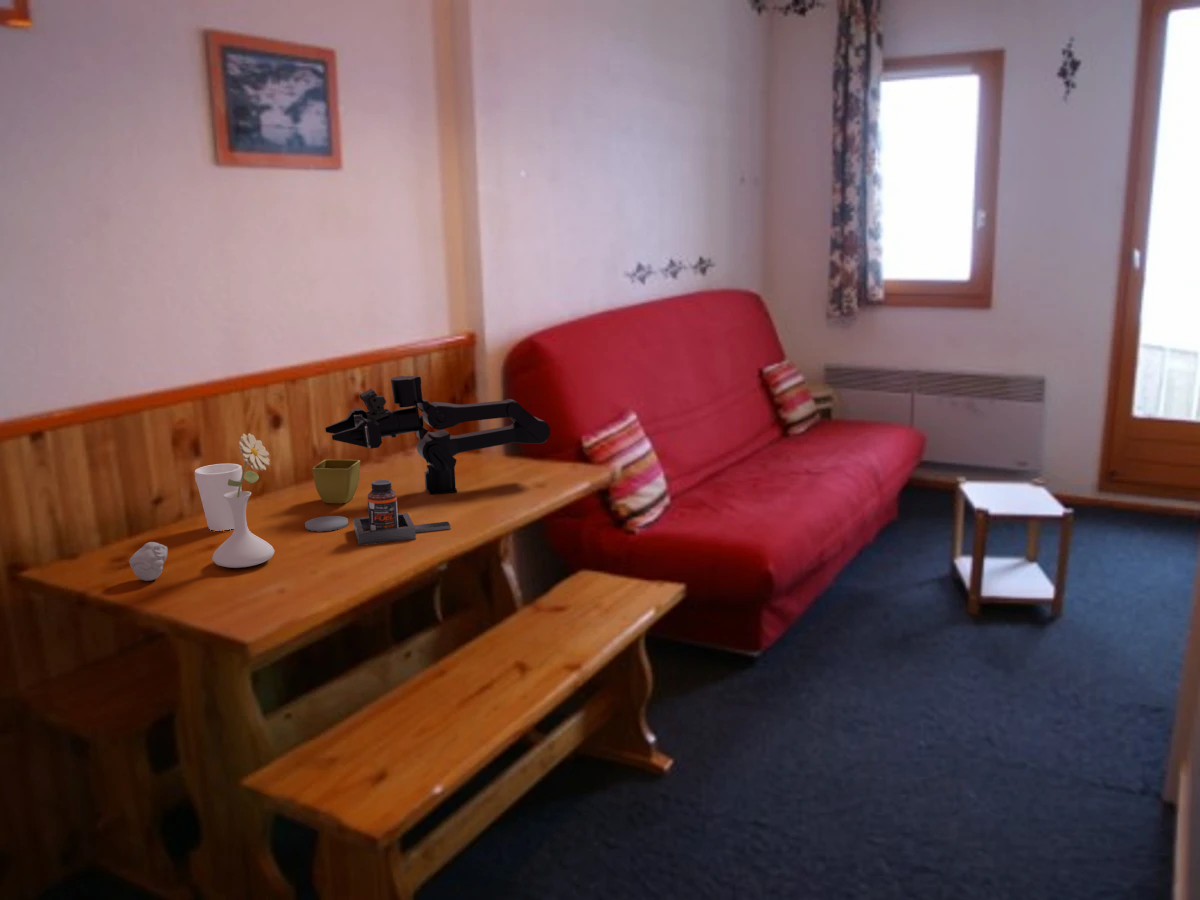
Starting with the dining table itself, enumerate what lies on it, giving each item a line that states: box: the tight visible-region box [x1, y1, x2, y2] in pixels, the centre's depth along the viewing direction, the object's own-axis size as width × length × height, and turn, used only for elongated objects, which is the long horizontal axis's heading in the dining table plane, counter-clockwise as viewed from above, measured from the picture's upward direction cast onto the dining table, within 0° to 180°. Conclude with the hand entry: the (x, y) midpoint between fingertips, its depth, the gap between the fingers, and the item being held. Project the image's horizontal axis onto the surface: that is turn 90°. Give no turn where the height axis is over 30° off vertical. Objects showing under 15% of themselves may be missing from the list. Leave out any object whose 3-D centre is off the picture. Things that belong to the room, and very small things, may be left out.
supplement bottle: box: [367, 479, 399, 531], centre depth 214 cm, size 6×6×11 cm
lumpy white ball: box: [128, 541, 169, 582], centre depth 191 cm, size 6×7×7 cm
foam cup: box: [194, 463, 243, 532], centre depth 221 cm, size 10×9×13 cm
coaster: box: [304, 515, 349, 533], centre depth 222 cm, size 9×9×1 cm
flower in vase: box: [211, 433, 276, 569], centre depth 197 cm, size 13×11×25 cm
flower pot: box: [311, 459, 361, 504], centre depth 240 cm, size 9×9×9 cm
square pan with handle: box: [352, 512, 451, 546], centre depth 216 cm, size 19×11×2 cm, turn 108°
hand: (328, 433), depth 235 cm, fingers open, 9 cm apart
